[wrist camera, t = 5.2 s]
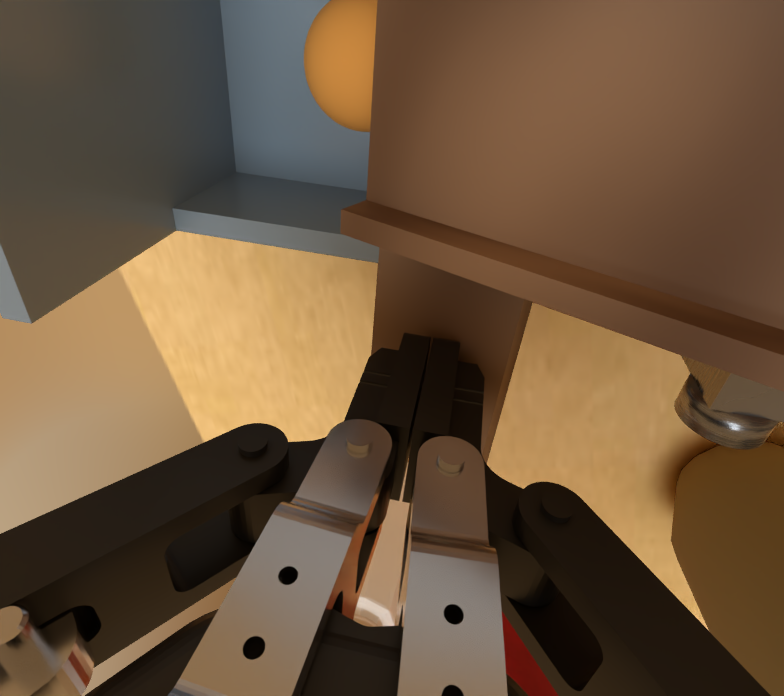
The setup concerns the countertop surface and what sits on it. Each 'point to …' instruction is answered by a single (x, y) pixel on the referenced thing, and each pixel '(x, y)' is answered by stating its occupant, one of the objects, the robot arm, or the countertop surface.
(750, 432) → the pivot stand
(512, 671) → the paper cup
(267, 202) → the cup
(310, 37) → the ball
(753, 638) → the squeeze bottle
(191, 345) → the countertop surface
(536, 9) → the lever
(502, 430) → the countertop surface
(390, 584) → the salt shaker
